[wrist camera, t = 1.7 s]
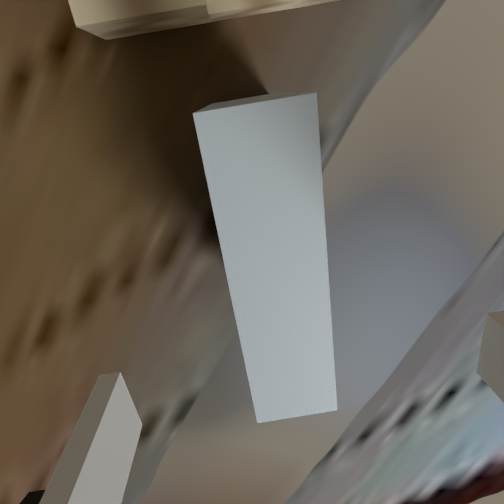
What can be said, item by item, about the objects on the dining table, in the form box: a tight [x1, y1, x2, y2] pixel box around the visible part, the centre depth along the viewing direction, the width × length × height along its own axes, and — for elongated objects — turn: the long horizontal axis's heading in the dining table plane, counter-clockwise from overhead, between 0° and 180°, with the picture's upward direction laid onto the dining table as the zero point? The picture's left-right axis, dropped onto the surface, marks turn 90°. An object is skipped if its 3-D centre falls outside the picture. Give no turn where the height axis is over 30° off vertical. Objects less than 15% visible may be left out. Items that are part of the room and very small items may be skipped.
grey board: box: [193, 93, 337, 423], centre depth 26 cm, size 18×5×18 cm, turn 9°
